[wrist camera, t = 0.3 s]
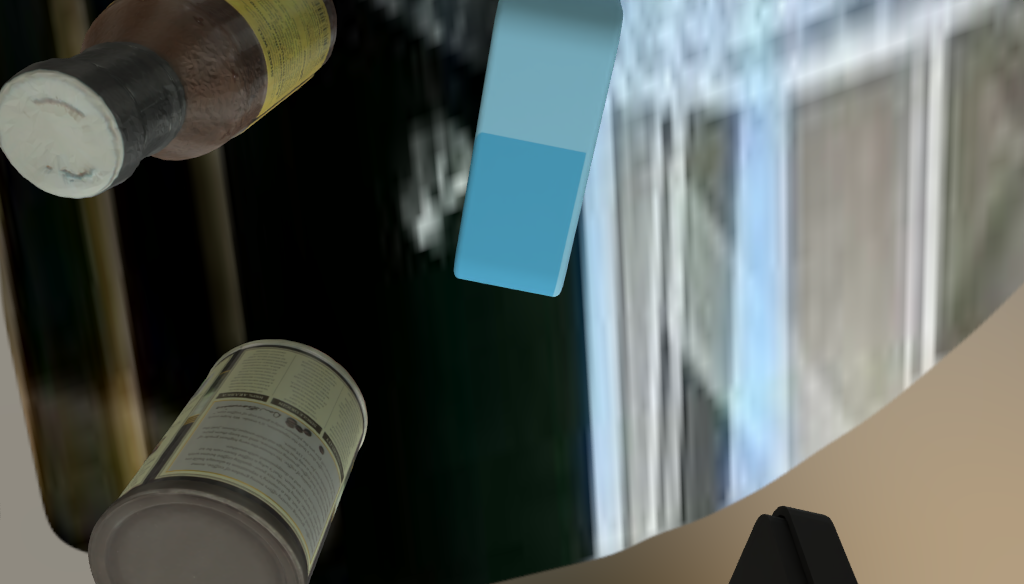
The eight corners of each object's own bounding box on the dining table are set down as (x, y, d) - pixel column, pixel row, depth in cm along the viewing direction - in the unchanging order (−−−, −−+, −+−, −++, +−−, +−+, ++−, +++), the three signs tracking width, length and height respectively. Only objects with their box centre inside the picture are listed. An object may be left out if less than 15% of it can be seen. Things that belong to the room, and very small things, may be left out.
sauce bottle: (270, -78, 41) (31, -36, 23) (367, 21, 43) (213, 132, 25) (190, 18, 44) (-84, 124, 26) (286, 109, 45) (91, 268, 27)
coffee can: (364, 489, 56) (300, 671, 43) (205, 463, 56) (94, 638, 43) (375, 351, 51) (307, 510, 39) (203, 323, 51) (78, 473, 39)
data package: (521, -45, 41) (499, -13, 30) (615, -26, 41) (626, 12, 30) (480, 192, 46) (449, 290, 36) (563, 208, 46) (557, 312, 36)
